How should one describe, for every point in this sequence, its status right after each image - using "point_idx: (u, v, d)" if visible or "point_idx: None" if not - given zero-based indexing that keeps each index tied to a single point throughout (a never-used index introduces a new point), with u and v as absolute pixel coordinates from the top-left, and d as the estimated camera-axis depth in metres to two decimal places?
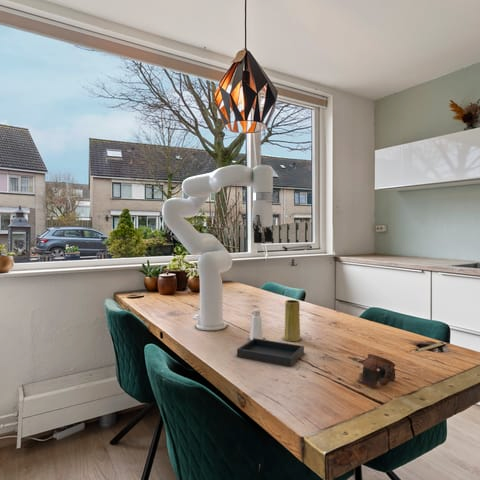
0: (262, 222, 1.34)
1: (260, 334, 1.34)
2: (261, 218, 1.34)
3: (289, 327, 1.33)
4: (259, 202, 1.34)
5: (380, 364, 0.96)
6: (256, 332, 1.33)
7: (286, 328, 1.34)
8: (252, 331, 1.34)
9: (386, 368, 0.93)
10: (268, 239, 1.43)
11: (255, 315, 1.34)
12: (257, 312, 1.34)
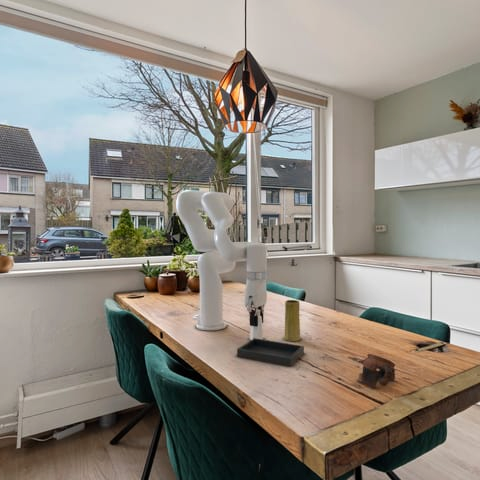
0: (255, 303, 1.30)
1: (260, 334, 1.34)
2: (254, 299, 1.30)
3: (289, 327, 1.33)
4: (252, 283, 1.30)
5: (380, 364, 0.96)
6: (256, 332, 1.33)
7: (286, 328, 1.34)
8: (252, 331, 1.34)
9: (386, 368, 0.93)
10: None
11: None
12: (257, 312, 1.34)
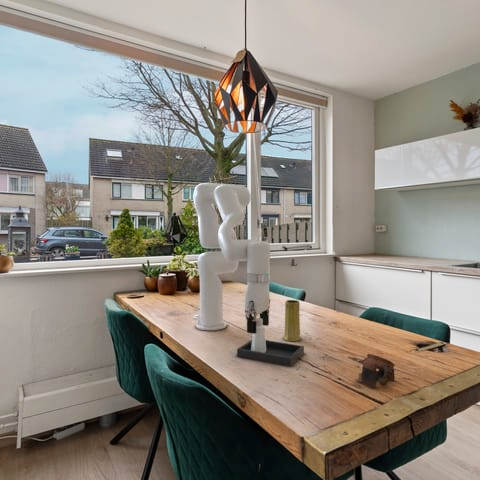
0: (257, 309, 1.15)
1: (262, 346, 1.19)
2: (256, 305, 1.15)
3: (289, 327, 1.33)
4: (253, 286, 1.16)
5: (379, 364, 0.96)
6: (258, 343, 1.18)
7: (286, 328, 1.34)
8: (253, 343, 1.19)
9: (385, 368, 0.93)
10: (264, 322, 1.25)
11: (257, 325, 1.19)
12: (259, 321, 1.19)
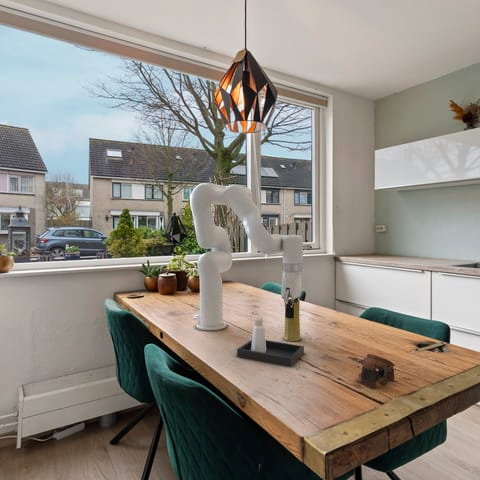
0: (292, 295, 1.30)
1: (262, 346, 1.19)
2: (291, 291, 1.30)
3: (289, 327, 1.33)
4: (289, 274, 1.30)
5: (379, 364, 0.96)
6: (258, 343, 1.18)
7: (286, 328, 1.34)
8: (253, 343, 1.19)
9: (385, 368, 0.93)
10: None
11: (257, 325, 1.19)
12: (259, 321, 1.19)
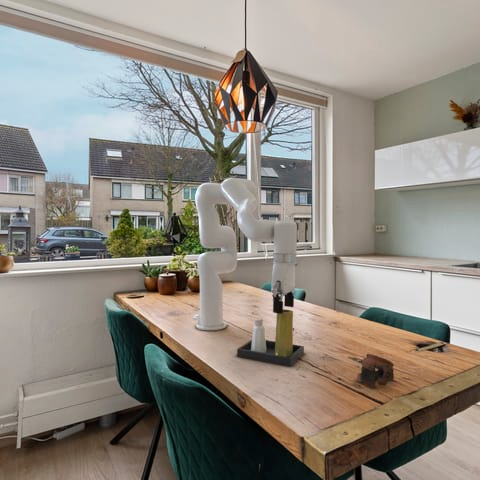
0: (283, 289, 1.14)
1: (262, 346, 1.19)
2: (282, 285, 1.14)
3: (281, 341, 1.15)
4: (280, 266, 1.14)
5: (378, 364, 0.96)
6: (258, 343, 1.18)
7: (277, 342, 1.16)
8: (253, 343, 1.19)
9: (384, 368, 0.93)
10: (289, 304, 1.23)
11: (257, 325, 1.19)
12: (259, 321, 1.19)
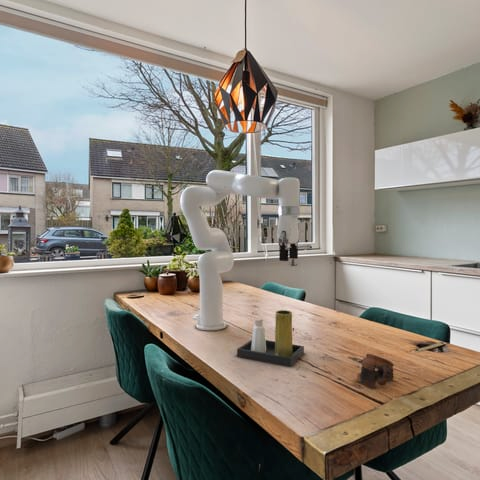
0: (289, 239, 1.25)
1: (262, 346, 1.19)
2: (288, 234, 1.25)
3: (280, 343, 1.14)
4: (285, 217, 1.26)
5: (378, 364, 0.96)
6: (258, 343, 1.18)
7: (276, 343, 1.15)
8: (253, 343, 1.19)
9: (384, 368, 0.93)
10: (293, 256, 1.34)
11: (257, 325, 1.19)
12: (259, 321, 1.19)
